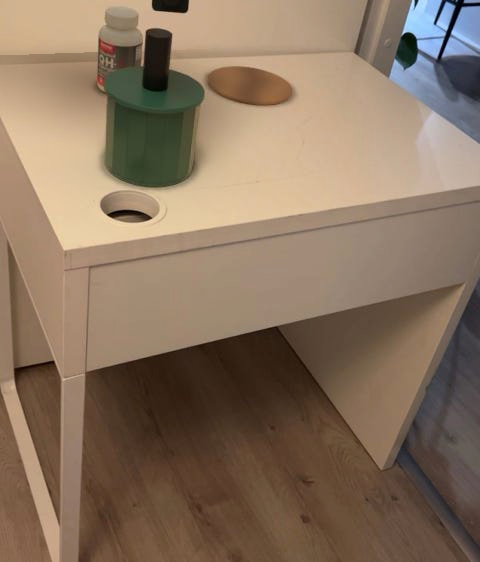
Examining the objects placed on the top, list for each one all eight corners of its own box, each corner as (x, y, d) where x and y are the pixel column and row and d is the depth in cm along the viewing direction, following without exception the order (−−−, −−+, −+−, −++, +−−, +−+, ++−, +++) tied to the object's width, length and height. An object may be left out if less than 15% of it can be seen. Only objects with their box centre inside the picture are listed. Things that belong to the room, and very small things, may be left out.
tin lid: (103, 115, 70) (105, 48, 66) (103, 72, 78) (105, 9, 74) (209, 122, 72) (217, 57, 68) (198, 79, 80) (205, 19, 76)
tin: (105, 184, 75) (108, 108, 70) (104, 141, 82) (107, 68, 77) (195, 189, 77) (205, 114, 72) (187, 146, 84) (195, 75, 79)
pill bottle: (92, 93, 91) (94, 14, 86) (101, 76, 96) (104, 0, 90) (135, 100, 92) (140, 22, 86) (142, 83, 96) (148, 8, 90)
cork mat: (213, 101, 95) (213, 98, 94) (203, 65, 104) (203, 63, 103) (299, 107, 97) (300, 105, 97) (282, 72, 106) (283, 69, 106)
